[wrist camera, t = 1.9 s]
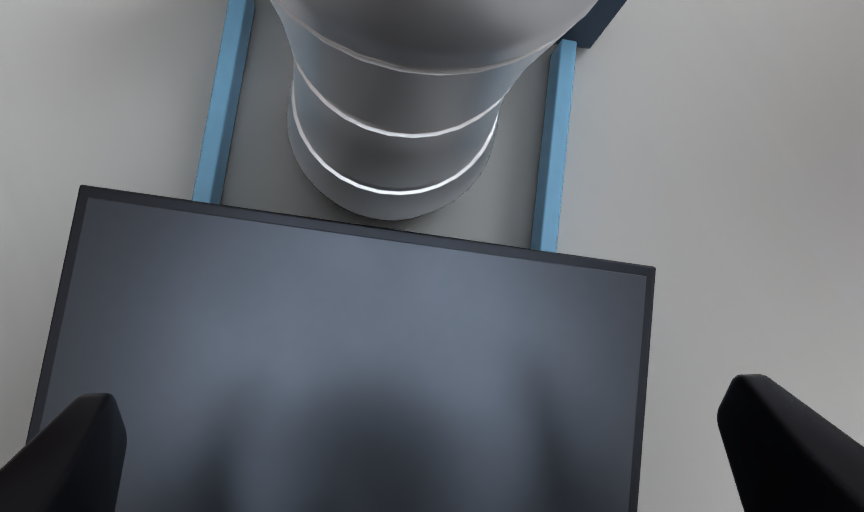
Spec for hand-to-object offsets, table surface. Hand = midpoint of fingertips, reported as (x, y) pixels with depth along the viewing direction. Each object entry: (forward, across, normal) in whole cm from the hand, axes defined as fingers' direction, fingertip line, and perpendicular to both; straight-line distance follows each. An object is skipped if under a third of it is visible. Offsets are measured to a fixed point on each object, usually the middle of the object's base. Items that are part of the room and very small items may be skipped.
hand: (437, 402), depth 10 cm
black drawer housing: (+7, +2, +12) cm, 14 cm away
